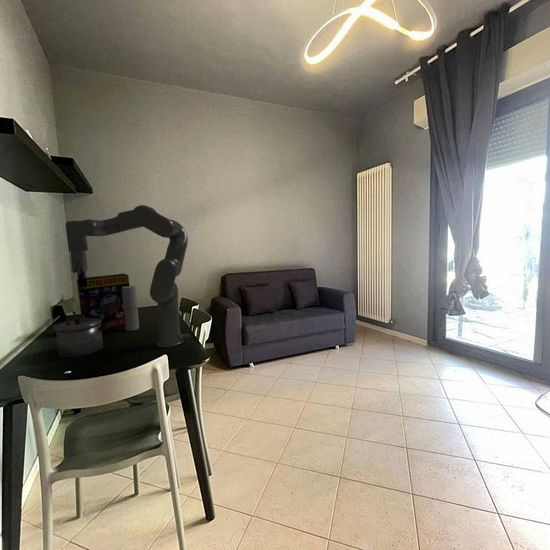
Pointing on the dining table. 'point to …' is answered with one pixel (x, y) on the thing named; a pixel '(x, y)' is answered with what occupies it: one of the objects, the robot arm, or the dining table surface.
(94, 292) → the cereal box
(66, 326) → the cooker lid
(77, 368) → the dining table surface
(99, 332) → the cooker pot
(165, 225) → the robot arm
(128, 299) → the cylindrical container
